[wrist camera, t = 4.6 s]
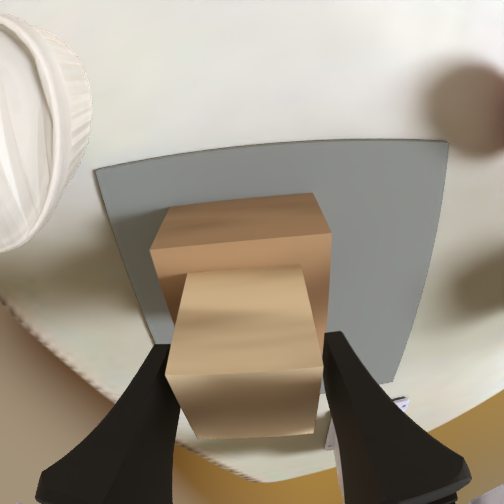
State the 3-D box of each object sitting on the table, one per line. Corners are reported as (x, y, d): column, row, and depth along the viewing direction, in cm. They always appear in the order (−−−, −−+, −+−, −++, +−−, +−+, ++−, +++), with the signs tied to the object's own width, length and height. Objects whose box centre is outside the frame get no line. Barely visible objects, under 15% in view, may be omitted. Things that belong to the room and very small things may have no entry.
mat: (391, 378, 25) (392, 381, 24) (183, 398, 25) (183, 402, 25) (445, 140, 14) (449, 142, 14) (98, 168, 15) (95, 171, 14)
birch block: (299, 341, 15) (313, 433, 11) (206, 347, 15) (197, 438, 11) (300, 264, 13) (323, 366, 8) (187, 272, 13) (164, 374, 9)
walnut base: (312, 302, 19) (324, 353, 16) (196, 312, 19) (188, 363, 16) (312, 192, 15) (331, 233, 12) (169, 206, 16) (149, 249, 12)
